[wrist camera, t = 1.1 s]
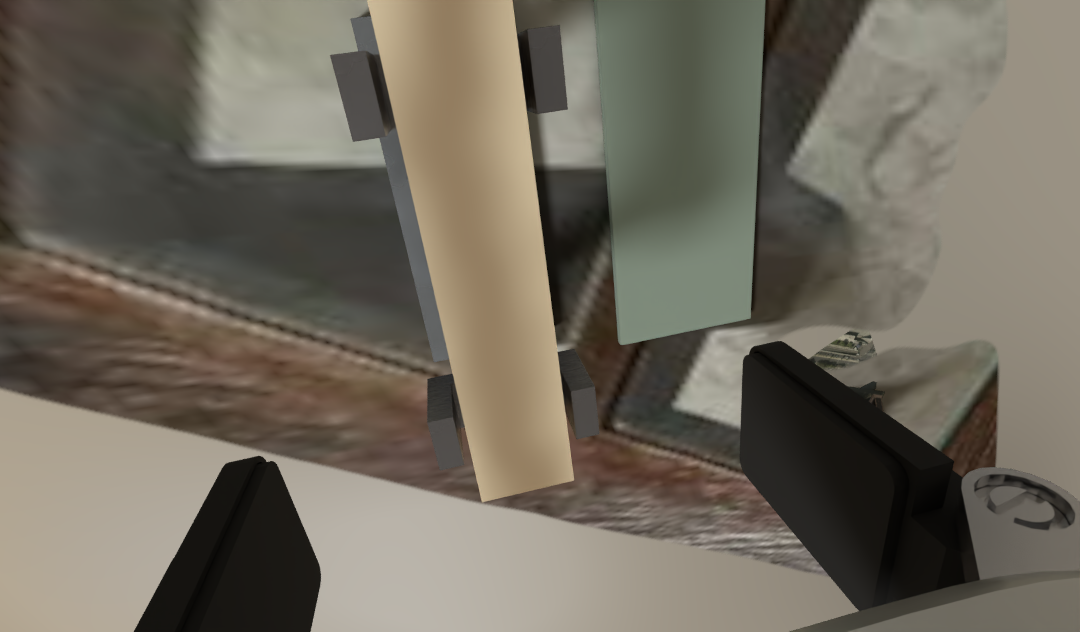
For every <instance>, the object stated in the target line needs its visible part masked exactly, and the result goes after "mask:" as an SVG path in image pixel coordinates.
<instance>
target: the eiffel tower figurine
mask: <svg viewBox="0 0 1080 632" xmlns="http://www.w3.org/2000/svg"><path fill="white" fill-rule="evenodd" d="M876 355H877V353H876V350H875V347H874V344H873V341H872V338H871V334H870V331H867V330H859V329H852V330H850V331H849V332H847V333H846V334H844V335H843V336H841V337H839V338H838V339H837V340H835V341H833V342H832V343H830V344H829V345H827V346H826V347H824V348H823V349H821V350H820V351H819V352H817V353H816V354H815V355H813V356H812V357H811V358H809V360H810V361H811V362H813V363H814V364H816V365H817V366H819V367H820V368H821V369H840V368H844V367H850V366H853V365H856V364H858V363H861V362H863V361H865V360H867V359H870V358H872V357H874V356H876ZM876 383H877V382H874V381H873V382H871V383H869V384H867V385H865V386H863V387H861V388H855V387H849V388H850V389H852V390H853V391H854V392H856V393H857V394H859V395H860V396H862V397H863V398H864V399H866V400H867V401H869V402H870V403H872V404H873V405H874V406H876V407H877V408H879V409H880V410H882V411H883V406H882V400H881V398H882V396H883V395H884V393H885V392H883V391H876V390H874V389H876ZM847 387H848V386H847Z"/></svg>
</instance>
